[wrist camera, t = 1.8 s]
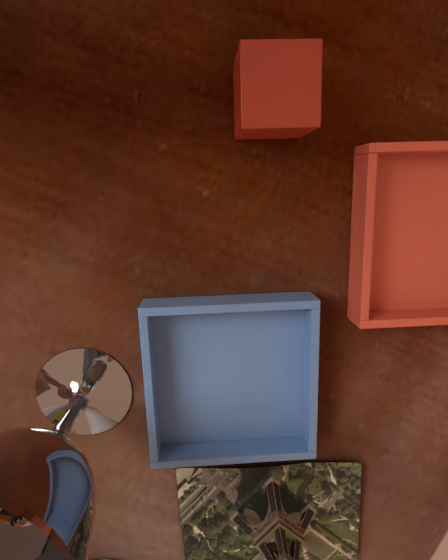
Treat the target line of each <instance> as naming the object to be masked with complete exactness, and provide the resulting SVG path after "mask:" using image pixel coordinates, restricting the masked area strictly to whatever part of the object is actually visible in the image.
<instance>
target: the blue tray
mask: <svg viewBox="0 0 448 560" xmlns="http://www.w3.org/2000/svg"><path fill="white" fill-rule="evenodd" d="M138 317H139V331H140V343H141V355H142V367H143V379H144V392H145V404H146V416H147V428H148V441H149V453H150V465H151V469H164V468H179V467H194V466H210V465H225V464H241V463H256V462H271V461H287V460H302V459H316V451H317V417H318V378H319V339H320V300H319V299H318V298H317V297H316V296H315V295H314V294H313V293H312V292H310V291H307V292H284V293H261V294H238V295H215V296H192V297H169V298H146V299H143V300H142V302H141V304H140V305H139V307H138Z"/></svg>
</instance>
